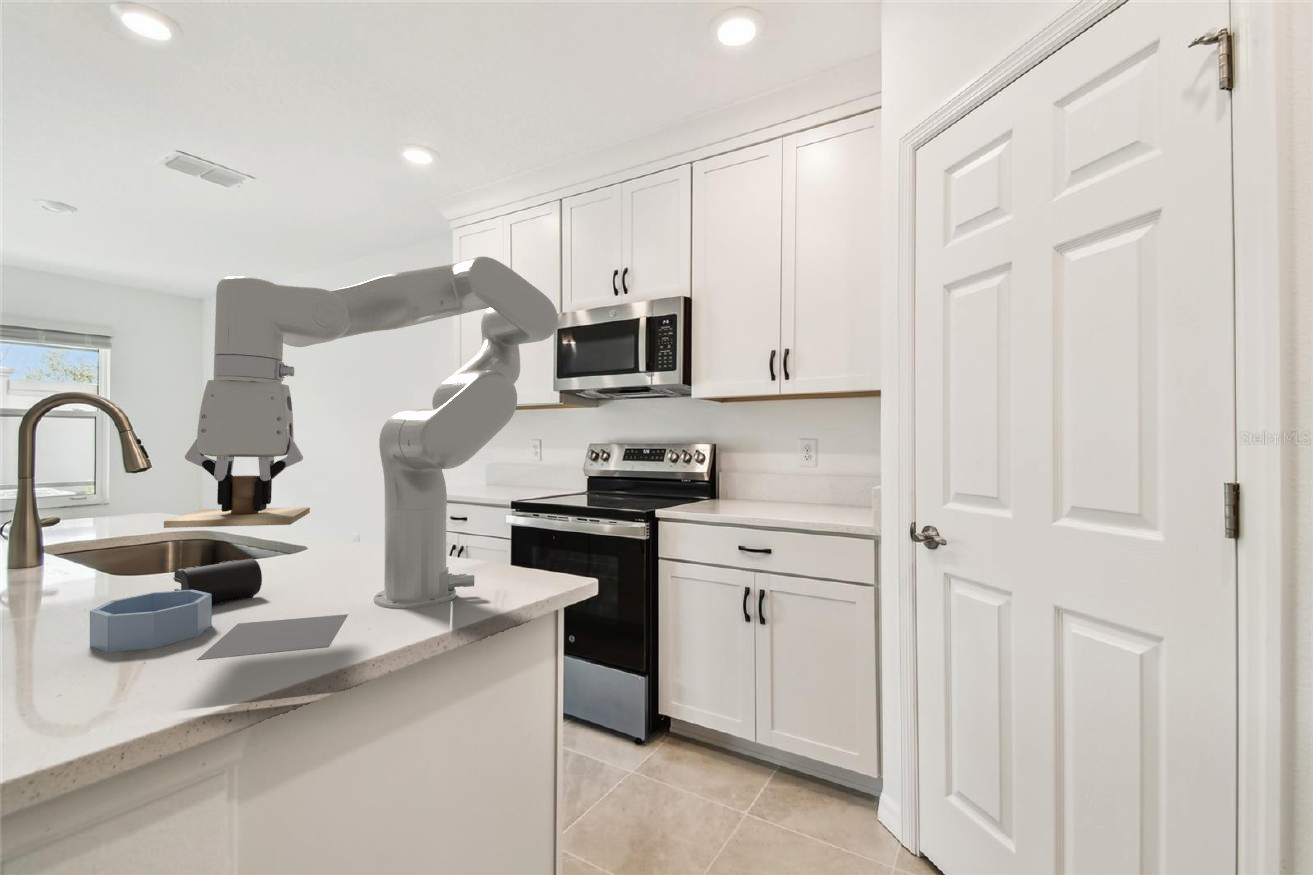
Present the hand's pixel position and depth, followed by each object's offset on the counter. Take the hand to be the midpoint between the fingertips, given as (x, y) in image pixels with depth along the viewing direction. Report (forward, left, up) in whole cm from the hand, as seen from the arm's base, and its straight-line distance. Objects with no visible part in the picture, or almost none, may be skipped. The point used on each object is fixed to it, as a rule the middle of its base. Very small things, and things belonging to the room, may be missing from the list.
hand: (244, 508), depth 78 cm
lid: (0, 0, -1) cm, 1 cm away
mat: (-4, +1, -18) cm, 18 cm away
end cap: (+10, -20, -18) cm, 29 cm away
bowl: (+12, -4, -18) cm, 21 cm away
